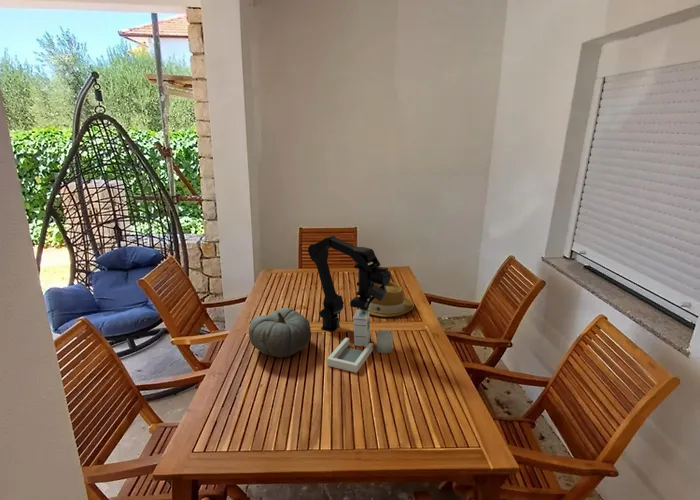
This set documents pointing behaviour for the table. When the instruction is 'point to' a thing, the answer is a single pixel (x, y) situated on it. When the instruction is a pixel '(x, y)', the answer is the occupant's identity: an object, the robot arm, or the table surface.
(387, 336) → the grey rounded dome
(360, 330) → the syrup box
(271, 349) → the gourd
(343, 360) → the cradle
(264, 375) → the table surface
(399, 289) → the fedora
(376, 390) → the table surface
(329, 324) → the robot arm
